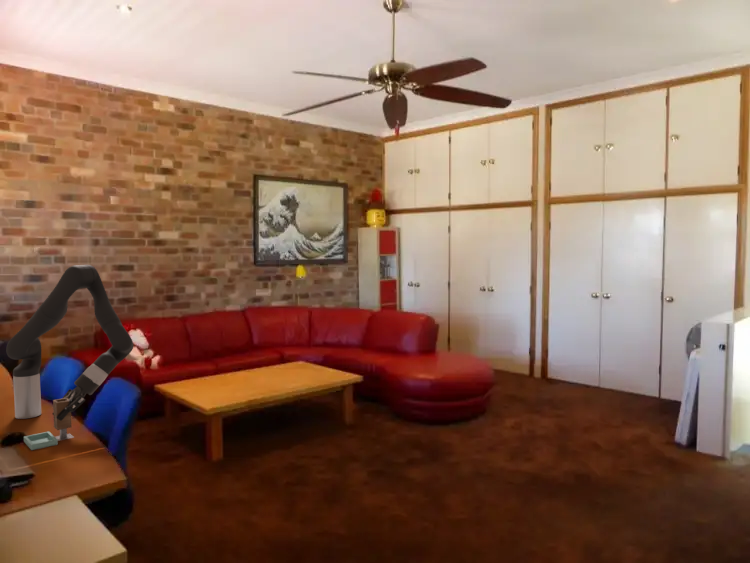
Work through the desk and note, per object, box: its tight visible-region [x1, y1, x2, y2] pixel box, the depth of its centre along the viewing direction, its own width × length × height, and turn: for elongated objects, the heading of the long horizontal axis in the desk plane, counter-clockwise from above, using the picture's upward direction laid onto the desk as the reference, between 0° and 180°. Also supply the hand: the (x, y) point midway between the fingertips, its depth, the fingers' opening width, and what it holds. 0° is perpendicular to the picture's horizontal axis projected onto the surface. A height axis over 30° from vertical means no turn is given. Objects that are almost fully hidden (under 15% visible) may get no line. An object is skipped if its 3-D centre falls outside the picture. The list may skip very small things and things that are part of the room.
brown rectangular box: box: [52, 397, 72, 431], centre depth 201 cm, size 5×5×10 cm
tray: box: [23, 430, 59, 451], centre depth 196 cm, size 12×8×2 cm
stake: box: [54, 428, 75, 442], centre depth 202 cm, size 6×6×6 cm
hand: (56, 417), depth 200 cm, fingers closed on brown rectangular box, 4 cm apart
